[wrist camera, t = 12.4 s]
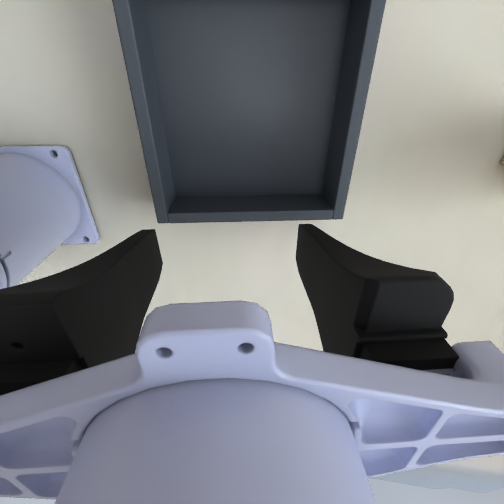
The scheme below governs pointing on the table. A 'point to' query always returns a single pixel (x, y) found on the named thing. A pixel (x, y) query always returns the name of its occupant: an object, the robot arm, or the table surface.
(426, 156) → the table surface
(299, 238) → the robot arm
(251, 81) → the tub
